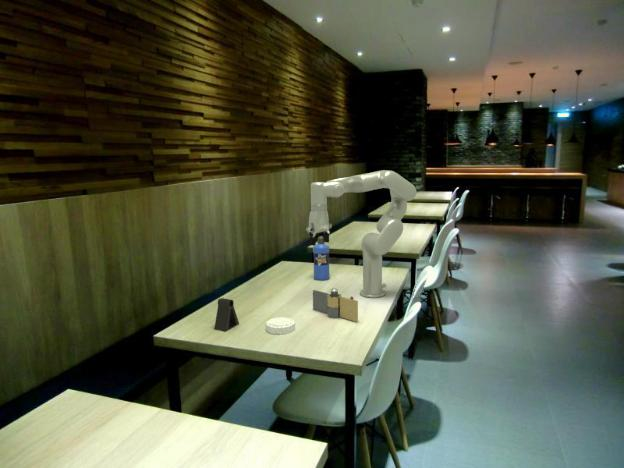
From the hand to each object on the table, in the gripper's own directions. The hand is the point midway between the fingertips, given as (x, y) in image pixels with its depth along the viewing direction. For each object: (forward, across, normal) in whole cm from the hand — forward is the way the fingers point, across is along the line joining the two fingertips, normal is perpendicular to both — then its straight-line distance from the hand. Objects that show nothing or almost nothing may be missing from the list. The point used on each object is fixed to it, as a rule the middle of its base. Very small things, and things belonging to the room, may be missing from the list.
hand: (319, 243), depth 210 cm
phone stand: (+29, +51, -7) cm, 59 cm away
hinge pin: (+28, +12, +19) cm, 36 cm away
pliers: (+29, 0, +10) cm, 31 cm away
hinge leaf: (+28, +12, +24) cm, 39 cm away
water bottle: (+28, -30, -26) cm, 49 cm away
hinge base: (+28, +12, +14) cm, 34 cm away
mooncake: (+29, +38, +12) cm, 49 cm away
